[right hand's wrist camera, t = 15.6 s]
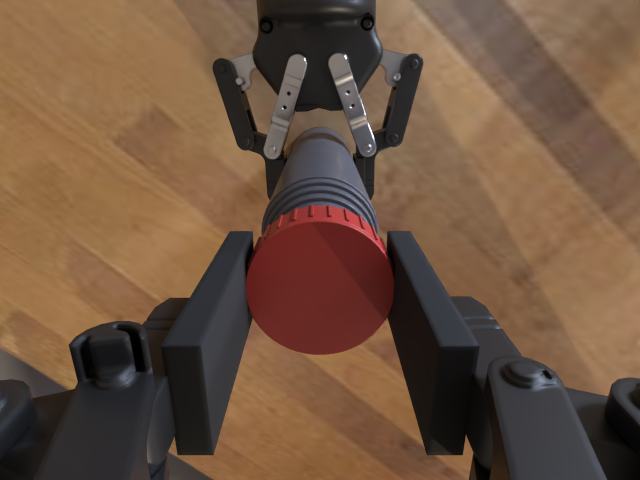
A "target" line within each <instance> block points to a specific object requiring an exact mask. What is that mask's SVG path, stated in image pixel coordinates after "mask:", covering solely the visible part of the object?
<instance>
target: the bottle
mask: <svg viewBox="0 0 640 480" xmlns="http://www.w3.org/2000/svg"><path fill="white" fill-rule="evenodd" d="M311 204H314V206H316V205H318V206H328V204H330V205H331V206H332V207H337V208H341V209H344V208H346V209H347V211H349V212H352V213H353V214H355V215H357V216H359V215H360V216H362V219H363V220H364V221H365V222H367V223H368V224H369V225H370V226H373V227H374V229H375V232H376V233H377V235H379V227H378V220H377V216H376V213H375V211H374V208H373V206H372V204H371V201H370V199H369V196H368V194H367V192H366V189H365V187H364V185H363V182H362V180H361V178H360V175H359V173H358V171H357V168H356V166H355V163H354V161H353V159H352V156H351V154H350V152H349V149H348V147H347V145H346V143H345V141H344V139H343V138H342V137H341V136H340V135H339V134H338V133H337V132H335V131H334V130H332V129H329V128H325V127H315V128H311V129H309V130H307V131H305V132H303V133H302V134H301V135H300V136H299V137H298V138H297V140H296V141H295V143H294V145H293V148H292V150H291V152H290V155H289V157H288V159H287V162H286V164H285V166H284V169H283V171H282V173H281V176H280V178H279V181H278V183H277V185H276V188H275V190H274V192H273V195H272V197H271V199H270V202H269V204H268V206H267V209H266V211H265V214H264V217H263V222H262V235H263V234H264V232H265V231H266V229H267V226H268V225H269V224H270V225H272V224H273V223H274V222H275V221H276V220H277V219H279V217H280V215H285V214H287V213H289V212H291V211H294V210H295V208H298V209H299V208H303V207H308V206H311Z"/></svg>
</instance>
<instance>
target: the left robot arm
mask: <svg viewBox="0 0 640 480" xmlns="http://www.w3.org/2000/svg"><path fill="white" fill-rule="evenodd" d="M257 12H258V27H259V30H258V37H257V41H256V43H255V45H254V48H253V52H252V53H250V54H247V55H244V56H240V57H237V58H233V59H230V60H227V59H223V58H220V59H217V60H216V61H215V62H214V64H213V72H214V75H215V78H216V81H217V84H218V87H219V90H220V93H221V96H222V99H223V102H224V105H225V108H226V111H227V115H228V118H229V121H230V124H231V127H232V130H233V133H234V136H235V139H236V142H237V145H238V146H239V148H241V149H242V150H250V151H253V152H256V153H258V154H260V155H261V156H262V157H263V158H264V160H265V165H266V179H267V193H268V197H269V199H271V197H272V195H273V192H274V190H275V188H276V185H277V183H278V181H279V178H280V176H281V173H282V171H283V169H284V166H285V164H286V162H287V155H284V150H283V148H284V145H285V142H286V138H287V135H288V132H289V129H290V126H291V123H292V120H293V117H294V113H295V110H296V112H299V111H310V110H313V109H316V108H322V109H326V110H330V111H336V110H342V109H343V111H344V114H345V117H346V119H347V122H348V124H349V127H350V130H351V132H352V135H353V138H354V141H355V143H356V154H353V161H354V163H355V166H356V168H357V171H358V173H359V175H360V178H361V180H362V182H363V185H364V187H365V189H366V192H367V194H368V196H369V199H370V200H371V199H372V196H373V194H374V161H375V157H376V155H377V153H378V152H380V151H381V150H384V149H386V148H389V147H396V146H398V145H400V144H401V142H402V140H403V137H404V133H405V129H406V126H407V122H408V118H409V115H410V111H411V107H412V104H413V100H414V96H415V93H416V89H417V85H418V82H419V78H420V74H421V71H422V67H423V59H422V57H421V56H420V55H418V54H409V55H405V54H401V53H397V52H392V51H388V50H384V49H383V48H382V44H381V42H380V40H379V38H378V36H377V33H376V27H375V14H376V0H257ZM378 65H380V66H382V67H383V69H384V71H385V82H386V83H387V84H388V85H389V86H392V90H391V94H390V98H389V102H388V106H387V109H386V113H385V117H384V121H383V125H382V129H379V130H377V131H374V132H371V129H370V126H369V123H368V120H367V116H366V113H365V110H364V107H363V104H362V102H361V99H360V96H359V93H360V92H361V90H362V89H363V87H364V86H365V85H366V83H367V82H368V80H369V79H370V77H371V76H372V74H373V73H374V71H375V70H376V68H377V67H378ZM255 69H258V70H259V71H260V73H261V74H262V75H263V77H264V78H265V79H266V81H267V82H268V83H269V85H270V86H271V87H272V89H273V90H274V91H275V93H276V94H277V95H278V99H277V102H276V106H275V109H274V113H273V116H272V120H271V125H270V128H269V132H268V135H266V134H263V133H260V132H258V131H257V128H256V125H255V121H254V118H253V115H252V112H251V108H250V105H249V102H248V99H247V95H246V92H245V90H248V89H249V88H250V87H251V85H252V73H253V71H254V70H255Z"/></svg>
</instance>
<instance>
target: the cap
mask: <svg viewBox="0 0 640 480" xmlns="http://www.w3.org/2000/svg"><path fill="white" fill-rule="evenodd" d="M247 267H249V268H248V271H247V275H246V291H247V304H248V307H249V310H250V312H251V314H252V316H253V318H254V320H255V321H256V323H257V324H258V326H259V327H260V328H261V329H262V330H263V331H264V332H265V334H267V335H268V336H269V337H270V338H271V339H273V340H274V341H276V342H277V343H279V344H280V345H282V346H284V347H286V348H289V349H291V350H294V351H297V352H301V353H306V354H314V355H326V354H334V353H339V352H343V351H346V350H349V349H352V348H354V347H356V346H358V345H360V344H361V343H363V342H365V341H366V340H368V339H369V338H370V337H371V336H373V335H374V334H375V333H376V332H377V331H378V330H379V329H380V327H381V326H382V325H383V323H384V322H385V320H386V319H387V317H388V315H389V313H390V310H391V308H392V305H393V295H394V274H393V270H392V269H393V265H392V263H391V260H390V258H389V255H388V252H387V250H386V247H385V245H384V242H383V240H382V238H379V236H378V235H377V233H376V232H375V229H374V227H373V226H370V225H369V224H368V223H367V222H365V221H364V220H363V219H362V216H360V215H359V216H357V215H355V214H353V213H352V212H349V211H347V209H346V208H344V209H341V208H337V207H332V206H331V205H330V204H328V206H318V205H316V206H314V204H311V206H308V207H303V208H299V209H298V208H295V210H294V211H291V212H289V213H287V214H285V215H280V217H279V219H277V220H276V221H275V222H274V223H273V224H272V225H270V224H269V225H268V226H267V229H266V231H265V232H264V234H263V235H262V237H259V238H258V241H257V243H256V246H255V248H254V250H253V253H252V255H251V258H250V260H249V263H248V265H247Z"/></svg>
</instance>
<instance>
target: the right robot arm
mask: <svg viewBox="0 0 640 480" xmlns="http://www.w3.org/2000/svg"><path fill="white" fill-rule="evenodd" d="M253 250H254V247H253V231H230V232H229V234H228V236H227V237H226V239H225V240H224V242H223V244H222V245H221V247H220V249H219V250H218V252H217V254H216V255H215V257H214V259H213V260H212V262H211V264H210V265H209V267H208V269H207V270H206V272H205V274H204V275H203V277H202V279H201V280H200V282H199V284H198V285H197V287H196V288H195V290H194V292H193V293H192V295H191V297H190V298H169V299H167V300H166V301H164V302H163V303H161V304H160V305H158V306H157V307H155V309H154V310H153V311H152V313H151V314H150V315H149V317H148V318H147V321H145V322H144V324H143V325H141V324H139V323H135V322H131V321H115V322H110V323H105V324H101V325H98V326H96V327H93V328H90V329H88V330H86V331H84V332H83V333H81V334H80V335H78V336H76V337H75V338H74V339H73V341H72V342H71V343H70V344H69V347H70V352H71V356H72V360H73V364H74V368H75V372H76V376H77V380H78V383H77V385H76V388H75V389H73V390H69V391H65V392H61V393H56V394H51V395H46V396H41V397H37V398H32V394H31V391H30V388H29V386H28V385H27V384H26V383H24V382H23V381H18V380H12V379H11V380H1V381H0V480H169V465H168V459H167V453H168V450H169V448H170V446H171V443H172V441H173V438H174V436H175V441H176V447H177V454H178V455H214V451H215V448H216V444H217V441H218V437H219V434H220V430H221V427H222V423H223V420H224V416H225V413H226V409H227V406H228V402H229V399H230V395H231V392H232V388H233V385H234V381H235V378H236V374H237V371H238V367H239V364H240V360H241V357H242V353H243V350H244V346H245V343H246V339H247V336H248V332H249V329H250V325H251V322H252V318H253V316H252V314H251V312H250V310H249V307H248V304H247V291H246V275H247V271H248V268H249V267H247V265H248V263H249V260H250V258H251V255H252V253H253ZM387 252H388V255H389V258H390V260H391V263H392V265H393V269H392V270H393V274H394V295H393V305H392V308H391V310H390V313H389V315H388V321H389V324H390V328H391V331H392V335H393V338H394V342H395V345H396V349H397V352H398V356H399V359H400V363H401V366H402V370H403V373H404V377H405V380H406V384H407V387H408V391H409V394H410V398H411V401H412V405H413V408H414V412H415V415H416V419H417V422H418V426H419V429H420V433H421V436H422V440H423V443H424V447H425V450H426V454H427V455H463V449H464V443H465V437H466V435H467V438H468V440H469V443H470V445H471V448H472V450H473V458H472V464H471V470H470V476H469V480H640V379H638V378H623V379H618V380H617V381H615V382H614V383H613V384H612V386H611V389H610V392H609V396H603V395H598V394H593V393H589V392H584V391H579V390H575V389H571V388H567V387H564V385H563V382H562V381H561V379H560V378H559V377H558V375H557V374H556V373H555V372H554V371H552V370H551V369H550V368H548V367H547V366H545V365H544V364H542V363H539V362H537V361H535V360H532V359H529V358H525V357H522V355H521V354H520V352H519V351H518V350H517V348H516V347H515V346H514V344H513V343H512V342H511V340H510V339H509V338H508V336H507V335H506V333H505V332H504V331H503V329H500V325H499V324H498V323H497V321H496V320H495V319H493V316H492V315H491V313H490V312H489V310H488V309H487V308H486V306H484V305H483V304H481V303H480V302H478V301H477V300H475V299H474V298H472V297H450V296H449V295H448V293H447V291H446V290H445V288H444V286H443V285H442V283H441V281H440V280H439V278H438V276H437V275H436V273H435V271H434V270H433V268H432V266H431V265H430V263H429V262H428V260H427V258H426V257H425V255H424V253H423V252H422V250H421V248H420V247H419V245H418V243H417V242H416V240H415V238H414V237H413V235H412V233H411V232H410V231H388V235H387Z"/></svg>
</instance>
